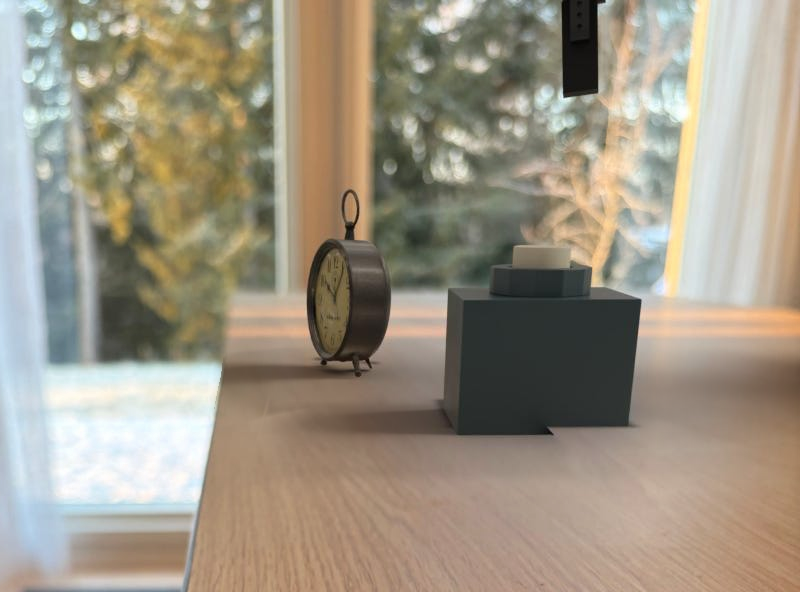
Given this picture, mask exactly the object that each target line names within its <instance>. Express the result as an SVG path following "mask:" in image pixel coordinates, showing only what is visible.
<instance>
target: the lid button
mask: <svg viewBox="0 0 800 592" xmlns="http://www.w3.org/2000/svg"><path fill="white" fill-rule="evenodd" d="M512 250H513V251H512V264H513V265H512V267H513V268H535V269H557V268H570V264H571V256H572V245H563V244H522V245H521V244H519V245H514V246H513V248H512Z"/></svg>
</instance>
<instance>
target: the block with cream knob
mask: <svg viewBox="0 0 800 592" xmlns="http://www.w3.org/2000/svg"><path fill="white" fill-rule="evenodd" d="M512 265H513V263H507V264H495V265H491V266H490V269H489V271H490V272H489V287H448V288H447V303H446V304H447V305H446V327H445V352H444V353H445V355H444V375H443V376H444V377H443V378H444V379H443V402H442V404H443V405H442V409H443V411H444V413H445V415H446V417H447V419H448V421H449V423H450V425H451V426H452V428H453V430H454V432H455V434H456V435H457V436H554V435H555V434H554V433H553V432H552V430H550V428H548V427H629V422H630V413H631V403H632V393H633V387H634V386H633V384H634V375H635V366H636V357H637V356H636V355H637V350H638V349H637V348H638V339H639V329H640V322H641V321H640V320H641V312H642V311H641V310H642V302H643V299H642V298H639V297H637V296H634V295H630V294H627V293H624V292H621V291H618V290H616V289H612V288H610V287H606V286H592V277H593V266H591V265H590V266H589V265H584V264H571V263H570V268H557V269H535V268H513V267H512Z"/></svg>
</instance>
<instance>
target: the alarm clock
mask: <svg viewBox="0 0 800 592" xmlns="http://www.w3.org/2000/svg"><path fill="white" fill-rule="evenodd" d="M349 194H352V196H353V198H354V201H355V204H356V213H355V219H354V221H352V220H349V221H348V220H347V217H346V211H345V210H346V209H345V207H346V205H345V204H346V200H347V197H348V195H349ZM360 206H361V205H360V199H359V195H358V194H357V192H356V191H355V190H354V189H352V188H348V189H346V190H345V191H344V193H343V195H342V198H341V209H340V210H341V215H342V220H343V222H344V228H345V233H344V238H342V239H341V238H340V239H338V238H332V237H331V238H327V239H325V240H324V241H323V242H322V243H321V244H320V246H319V247H318V248H317V250H316V252H315V254H314V255H313V259H312V261H311V265H310V268H309V274H308V279H307V286H306V318H307V328H308V331H309V336H310V341H311V343H312V345H313V348H314V350H315V351H316V353H317V355H318V356H319V357H320V358H321V361H320V365H321V366H323V367H325V366H327V365H328V362H341V363H345V362H351V363H352V366H353V368H354V376H355V377H356V378H360V377H361V376H362V371H361V368H360V362H363V361H365V363H366V364H367V366H368V367H369V369H373V365H372V363H371V360H370V358H371V357H372V356H374V355H375V354H376V352H377V351H378V350H379V348H380V347H381V345H382V343H383V341H384V339H385V337H386V333H387V330H388V326H389V321H390V316H391V309H392V288H391V287H392V285H391V277H390V273H389V268H388V266H387V263H386V260H385V258H384V256H383V254H382V252H381V251H380V249H379V248H378V247H377V246H376V245H375V244H374V243H372V242H370V241H368V240H364V239H363V240H362V239H355V228H356V225H357V223H358V221H359V218H360V209H361V208H360Z"/></svg>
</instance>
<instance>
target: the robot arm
mask: <svg viewBox="0 0 800 592" xmlns="http://www.w3.org/2000/svg"><path fill="white" fill-rule="evenodd" d="M560 3H561V4H560V5H561V8H560V9H561V66H562V67H561V68H562V70H561V73H562V98H563V99H568V98H574V97H583V96H590V95H597V94H599V5H603V4H606V3H607V0H561V2H560Z"/></svg>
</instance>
